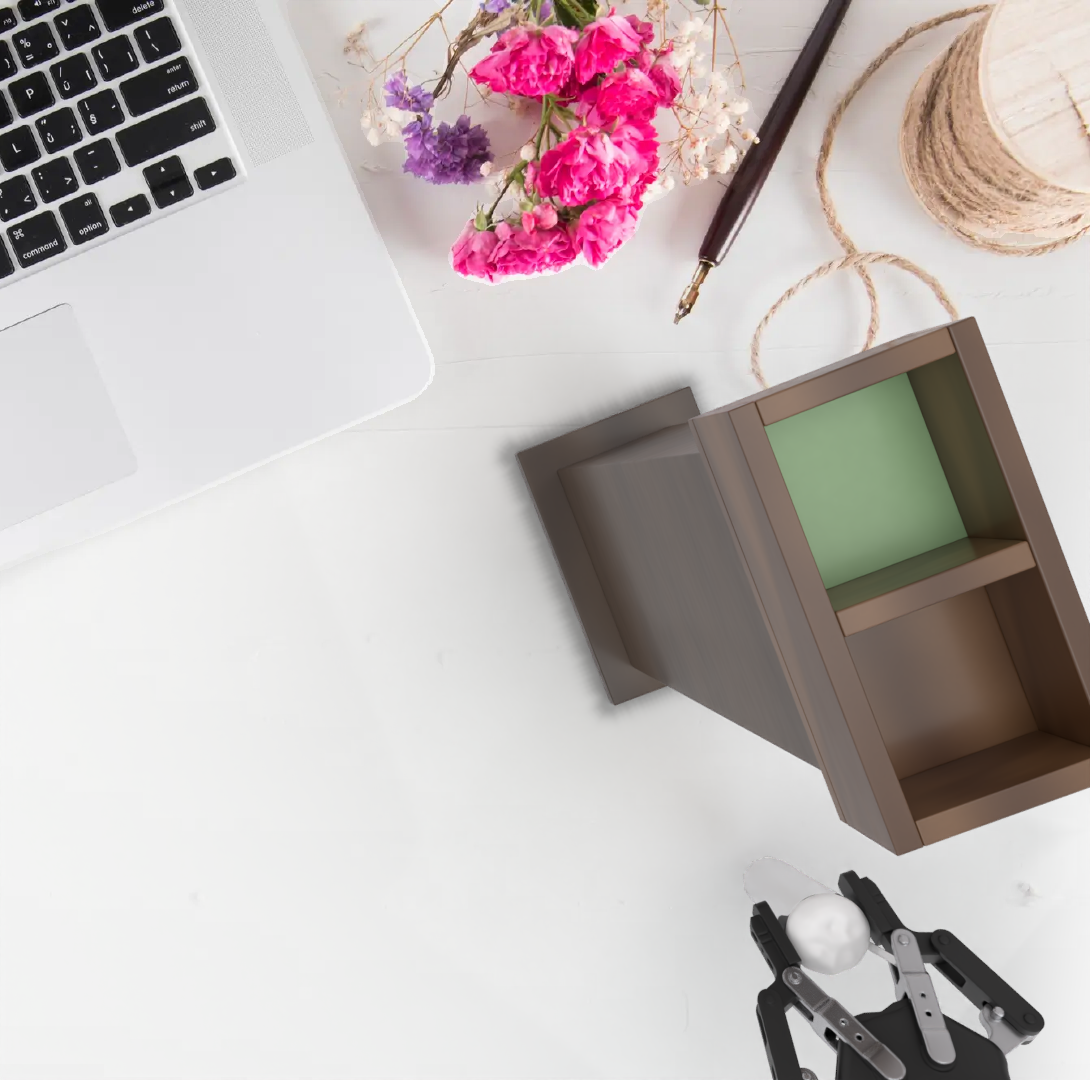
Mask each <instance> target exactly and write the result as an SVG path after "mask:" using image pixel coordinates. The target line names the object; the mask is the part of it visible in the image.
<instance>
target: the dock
mask: <svg viewBox="0 0 1090 1080" xmlns="http://www.w3.org/2000/svg"><path fill="white" fill-rule="evenodd" d="M700 414H701V415H699V416H696V417H694V418H691V419H689V420H688V424H689V427H690V429H691V432H692V434H693V437H694V440H695V442H696V445H697V447H698V450H699V453H700V455H701V458H702V461H703V463H704V466H705V468H706V471H707V474H708V476H709V479H710V481H711V484H712V487H713V489H714V492H715V495H716V497H717V500H718V502H719V505H720V508H721V510H722V513H723V515H724V518H725V521H726V523H727V526H728V528H729V531H730V534H731V536H732V539H733V542H734V544H735V547H736V549H737V552H738V555H739V557H740V560H741V562H742V565H743V568H744V570H745V573H746V576H747V578H748V581H749V583H750V586H751V589H752V591H753V594H754V596H755V599H756V602H757V604H758V607H759V609H760V612H761V615H762V617H763V620H764V623H765V625H766V628H767V630H768V633H769V636H770V638H771V641H772V643H773V646H774V649H775V651H776V654H777V657H778V659H779V662H780V664H781V667H782V670H783V672H784V675H785V677H786V680H787V683H788V685H789V688H790V690H791V693H792V696H793V698H794V701H795V704H796V706H797V709H798V711H799V714H800V717H801V719H802V722H803V724H804V727H805V730H806V732H807V735H808V738H809V740H810V743H811V745H812V748H813V751H814V753H815V756H816V758H817V761H818V764H819V766H820V769H821V770H820V771H821V774H822V776H823V779H824V782H825V785H826V787H827V790H828V793H829V795H830V798H831V800H832V803H833V805H834V808H835V810H836V813H837V815H838V818H839V820H840V821H841V822H843V823H844V824H846V825H847V826H848V827H850V828H852V829H853V830H855V831H857V832H858V833H860V834H861V835H863V836H864V837H866V838H868V839H869V840H871V841H873V842H874V843H875V844H877V845H879V846H881V847H882V848H884V849H885V850H887V851H888V852H890V853H892V854H894V855H895V856H896V857H900V856H902V855H903V856H904V855H905V854H908V853H912V852H915V851H917V850H920V849H922V848H924V847H928V846H930V845H933V844H936V843H939V842H942V841H944V840H948V839H950V838H953V837H956V836H959V835H961V834H964V833H967V832H971V831H972V830H975V829H978V828H981V827H983V826H986V825H989V824H993V823H995V822H998V821H1001V820H1003V819H1007V818H1009V817H1011V816H1014V815H1018V814H1020V813H1023V812H1027V811H1028V810H1031V809H1034V808H1036V807H1037V808H1038V807H1040V806H1043V805H1045V804H1048V803H1051V802H1055V801H1057V800H1059V799H1062V798H1065V797H1067V796H1070V795H1073V794H1076V793H1079V792H1082V791H1084V790H1087V789H1090V620H1089V617H1088V615H1087V612H1086V610H1085V607H1084V604H1083V602H1082V601H1083V600H1082V598H1081V596H1080V593H1079V591H1078V588H1077V586H1076V583H1075V580H1074V578H1073V575H1072V572H1071V569H1070V567H1069V564H1068V562H1067V559H1066V555H1065V553H1064V551H1063V548H1062V546H1061V543H1060V540H1059V538H1058V534H1057V533H1056V530H1055V527H1054V523H1053V522H1052V519H1051V516H1050V513H1049V511H1048V508H1047V506H1046V503H1045V500H1044V498H1043V495H1042V491H1041V489H1040V486H1039V484H1038V482H1037V479H1036V476H1035V474H1034V473H1035V472H1034V470H1033V468H1032V465H1031V463H1030V460H1029V458H1028V455H1027V452H1026V449H1025V446H1024V444H1023V442H1022V438H1021V436H1020V434H1019V431H1018V428H1017V425H1016V422H1015V420H1014V417H1013V415H1012V412H1011V409H1010V406H1009V403H1008V402H1007V399H1006V396H1005V393H1004V391H1003V388H1002V386H1001V382H1000V380H999V377H998V375H997V372H996V370H995V367H994V364H993V361H992V359H991V356H990V353H989V351H988V348H987V346H986V343H985V339H984V338H983V335H982V332H981V330H980V328H979V324H978V322H977V319H976V317H975V316H972V315H971V316H967V317H965V318H961V319H957V320H953V321H949V322H947V323H946V322H945V323H942V324H939V325H936V326H932V327H928V328H924V329H921V330H918V331H915V332H911V333H908V334H905V335H902V336H899V337H897V338H894V339H891V340H889V341H886V342H884V343H881V344H879V345H876V346H874V347H871V348H868V349H866V350H864V351H860V352H858V353H855V354H852V355H851V356H848V357H845V358H843V359H840V360H838V361H835V362H832V363H830V364H827V365H825V366H821V367H819V368H817V369H815V370H812V371H809V372H807V373H803V374H802V375H799V376H796V377H794V378H791V379H789V380H786V381H784V382H781V383H779V384H776V385H773V386H771V387H769V388H766V389H763V390H761V391H758V392H755V393H753V394H750V395H748V396H745V397H742V398H740V399H738V400H737V399H736V400H735V401H732V402H729V403H727V404H724V405H721V406H720V407H717V408H714V409H711V410H709V411H705V412H704V413H700Z"/></svg>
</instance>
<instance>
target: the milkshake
mask: <svg viewBox="0 0 1090 1080" xmlns="http://www.w3.org/2000/svg"><path fill="white" fill-rule="evenodd" d="M742 876H743V890H744V892H745V893H746V895H747V896H748V898H750V900H751V901H752V902H753V903H754V904H756V903H759V902H762V901H766V902H767V903H768V904H769V906H770V908H771V909H772V911H773V913H774V914H775V916H776V918H777V919H778V921H779V923H780V924H781V926H782V928H783V930H784V931H785V933H786V935H787V936H788V938H789V940H790V941H791V943H792V945H793V946H794V948H795V950H796V951H797V953H798V955H799V957H800V958H801V960H802V962H801V966H802V967H804V968H805V969H807V970H809V971H812V972H814V973H817V974H820V975H824V976H835V975H839V974H842V973H844V972H847V971H850V970H853V969H854V968H856V967H857V966H858V965H860V963H861V962H862V961H863V959H864V958H865V955H866V954H867V952H868V951H869V952H871V953H873V954H875V955H876V956H878V957H879V958H881V959H882V960H885V961H887V963H888V962H890V963H891V964H893V965H895V966H897V964H896V961H895V957H894V955H892V954H891V953H889V952H887V951H885V949H884V948H883V947H880V946H877V945H875V944H874V942H873V941H872V942H871V937H870V926H869V923H868V920H867V918H866V916H865V915H864V913H863V912H862V910H861V909H860V908H859V907H858V906H857V905H856V904H855V903H854V902H852V901H851V900H849V899H847V898H845V897H844V896H843V894H840V893H838V892H836V891H835V890H834V889H831V888H830V887H828V886H826V885H824V884H822V883H821V882H819V881H818V880H816V879H814V878H813V877H812V876H809V875H808V874H807V873H805V872H803V871H802V870H800V869H799V868H797V867H796V866H794V865H792V864H790V863H789V862H787V861H786V860H784V859H780V858H776V857H773V856H772V857H771V856H768V855H767V856H763V857H761V858H758V859H754V860H753V861H751V862H750V864H749V865H748V867H747V868H746V869H745V871H744V873H743V875H742Z"/></svg>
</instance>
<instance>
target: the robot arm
mask: <svg viewBox="0 0 1090 1080" xmlns="http://www.w3.org/2000/svg"><path fill="white" fill-rule="evenodd" d="M837 880H838V881H837V886H838V889H839V892H840V893H841V895H842V896H844V897H845V898H847V899H849V900H851V901H852V902H854V903H855V904H856V905H857V906H858V907H859V908H860V909H861V910H862V912H863V913H864V915H865V916H866V918H867V920H868V923H869V926H870V940H871V941H872V943H873V944H875V945H877V946H879V947H880V946H882V949H884V950H885V951H887V952H889V953H891V954H892V955H894V957H895V961H896V964H897V966H895V965H893V964H891V963H890V962H888V961H887V964H888V965H887V966H888V967H889V972H890V975H891V978H892V981H893V985H894V995H895V999H896V1001H894V1002H892V1003H890V1004H889V1005H888V1006H886V1007H885V1008H884V1009H882V1010H880V1011H871V1012H870V1011H869V1012H868V1011H867V1012H862V1013H859V1014H856V1015H853V1014H852V1013H851V1012H850V1011H848V1009H846V1008H845V1006H844V1005H842V1004H841V1003H840V1001H838V1000H837V999H836V998H834V997H832V996H830V995H828V994H827V992H825V991H824V990H823V989H822V988H821V987H820V986H819V985H818V984H817V983H816V982H815V981H814V980H813V979H812V978H811V977H810V976H809V975H808V974H807V973H806V972H805V971H803V969H802V967H801V966H802V965H801V962H802V960H801V958H800V957H799V955H798V953H797V951H796V950H795V948H794V946H793V945H792V943H791V941H790V940H789V938H788V936H787V935H786V933H785V931H784V930H783V928H782V926H781V924H780V923H779V921H778V919H777V918H776V916H775V914H774V913H773V911H772V909H771V908H770V906H769V904H768V903H767V902H766V901H762V902H759V903H756V904H755V903H754V904H752V911H751V914H752V916H750V917H749V931H750V936H751V938H752V940H753V941H754V943H755V945H756V947H757V948H758V951H760V954H761V955H762V957H763V959H764V961H765V963H766V964H767V966H768V968H769V970H770V971H771V973H772V975H773V977H774V981H773V982H772V983H771V984H770V985H769V986H768V987H766V988H763V989H761V990H760V991H759V992H758V994H757V998H756V1006H755V1015H756V1019H757V1022H758V1023H757V1024H758V1027H759V1031H760V1034H761V1038H762V1042H763V1043H762V1044H763V1046H764V1051H765V1054H766V1059H767V1062H768V1066H769V1070H770V1075H771V1077H772V1080H819V1078H818V1076H817V1074H816V1073H815V1072H814V1071H813V1070H812V1069H809V1068H807V1067H800V1066H801V1065H800V1062H799V1059H798V1055H797V1051H796V1046H795V1043H794V1041H793V1036H792V1032H791V1029H790V1026H789V1025H790V1024H789V1022H788V1018H787V1012H788V1011H789V1010H791V1009H792V1008H793V1009H794V1010H795V1011H796V1012H797V1013H798V1014H799V1015H800V1016H801V1017H802V1018H803V1019H804V1020H805V1021H806V1022H807V1023H808V1025H809V1026H810V1028H811V1029H812V1030H813V1032H814V1033H815V1034H816V1036H817V1037H819V1038H820V1039H821V1040H822V1041H823V1042H824V1043H825V1045H826V1046H828V1047H829V1049H831V1050H832V1051H833V1053H835V1054H836V1061H835V1072H834V1073H835V1075H834V1076H835V1077H834V1080H1012V1079H1011V1076H1010V1071H1009V1064H1008V1059H1007V1056H1008V1055H1009V1054H1011V1053H1012V1052H1013V1051H1015V1050H1016V1049H1017V1048H1018V1047H1019V1046H1027V1045H1030V1044H1031V1043H1032V1042H1033V1041H1034V1040H1035V1038H1036V1037H1037V1036H1038V1035H1039V1034H1040V1033H1041V1032H1042V1030H1043V1029H1044V1028H1045V1025H1046V1021H1045V1019H1044V1016H1043V1015H1042V1014H1041V1013H1040V1012H1039V1011H1038V1010H1037V1009H1036V1008H1035V1007H1034V1006H1033V1005H1032V1004H1031V1003H1030V1002H1028V1001H1027V999H1025V998H1024V997H1023V996H1022V995H1021V994H1019V992H1018V991H1016V990H1015V989H1014V988H1013V987H1012V986H1011V985H1010V984H1009V983H1007V982H1006V980H1004V979H1003V978H1002V976H1000V975H999V974H998V973H996V972H995V970H993V969H992V968H991V967H990V966H989V965H988V964H986V962H984V961H983V960H982V959H981V958H980V957H979V956H977V954H976V953H974V952H973V951H972V950H971V949H970V948H969V947H968V946H967V945H966V944H964V942H962V940H960V939H959V938H958V937H957V936H956V935H954V933H953V932H951V931H949V930H947V929H944V928H937V929H934V930H933V931H915V930H912V929H910V928H909V927H907V926H906V925H905V924H904V923H903V922H902V921H901V919H900V918H899V916H898V914H897V913H896V912H895V910H894V909H893V907H892V906H891V904H890V903H889V902H888V900H887V899H886V897H885V896H884V894H883V893H882V890H881V889H880V888H879V886H878V885H877V884H876V882H874V881H873V880H872V879H870V878H869V877H868V876H863V877H861V878H860V877H859V875H858V873H857V872H856V871H855V870H854V869H851V870H847V871H845V872H842V873H840V874H839V876H838V879H837ZM925 964H930V965H931V966H932V967H934V968H935V970H936V971H938V972H939V973H940V974H941V975H942V976H943V977H944V978H945V979H946V980H947V981H948V982H949V983H950V984H951V985H953V986H954V988H956V990H957V991H959V992H960V993H961V994H962V996H964V997H965V998H966V999H967V1000H969V1002H970V1003H972V1005H974V1006H975V1008H977V1009H978V1010H979V1011H980V1012H979V1013H978V1021H979V1023H980V1025H981V1026H982V1027H983V1028H984V1029H985V1032H986V1034H987V1037H986V1036H984V1035H982V1034H981V1033H978V1032H977V1031H975V1030H973V1029H971V1028H970V1027H968V1026H966V1025H964V1024H963V1023H961V1022H959V1021H957V1020H955V1019H954V1018H952V1017H950V1016H948V1015H946V1014H944V1013H943V1012H942V1009H941V1006H940V1003H939V999H938V996H937V994H936V990H935V988H934V987H935V986H934V984H933V980H932V977H931V975H930V973H929V972H928V971H927V970H926V966H925Z"/></svg>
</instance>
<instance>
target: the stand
mask: <svg viewBox="0 0 1090 1080" xmlns="http://www.w3.org/2000/svg"><path fill="white" fill-rule="evenodd" d="M694 395H695V394H694V393H693V389H692V387H691V386H689V385H687V386H684V387H682V388H679V389H676V390H673V391H672V392H669V393H666V394H664V395H661V396H659V397H656V398H654V399H651V400H648V401H645V402H643V403H641V404H638V405H636V406H633V407H630V408H628V409H625V410H623V411H621V412H618V413H615V414H613V415H610V416H607V417H604V418H602V419H599V420H597V421H595V422H592V423H589V424H587V425H585V426H582V427H579V428H576V429H574V430H571V431H569V432H566V433H564V434H561V435H559V436H556V437H553V438H551V439H549V440H546V441H544V442H540V443H538V444H535V445H533V446H530V447H528V448H526V449H523V450H521V451H518V452H515V453H514V457H515V460H516V463H517V465H518V467H519V470H520V473H521V475H522V477H523V481H524V483H525V485H526V488H527V490H528V493H529V496H530V499H531V501H532V503H533V506H534V509H535V512H536V514H537V517H538V518H539V522H540V524H541V526H542V529H543V533H544V535H545V537H546V540H547V542H548V544H549V548H550V550H551V553H552V555H553V558H554V561H555V563H556V565H557V569H558V571H559V573H560V576H561V579H562V581H563V584H564V586H565V589H566V591H567V594H568V596H569V599H570V601H571V604H572V607H573V609H574V612H575V614H576V617H577V619H578V620H577V621H578V622H579V625H580V628H581V630H582V632H583V633H582V634H583V636H584V638H585V641H586V643H587V645H588V648H589V651H590V653H591V656H592V659H593V661H594V663H595V667H596V670H597V672H598V673H599V676H600V679H601V682H602V685H603V687H604V689H605V692H606V695H607V698H608V700H609V702H610V704H611V705H613V706H618V705H621V704H624V703H626V702H628V701H631V700H634V699H636V698H639V697H643V696H645V695H648V694H650V693H653V692H655V691H658V690H661V689H663V688H667V687H668V688H670V689H672V690H674V691H675V692H677V693H680V694H681V695H683V696H684V697H686V698H689V699H690V700H692V701H694V702H696V703H697V704H699V705H700V706H702V707H704V708H706V709H708V710H710V711H712V712H714V713H716V714H717V715H719V716H721V717H723V718H725V719H727V720H728V721H730V722H732V723H734V724H736V725H737V726H740V727H741V728H743V729H745V730H747V731H748V732H750V733H752V734H754V735H756V736H758V737H759V738H760V739H763V740H764V741H767V742H768V743H770V744H772V745H773V746H776V748H777V747H778V748H779V749H781V750H783V751H785V752H786V753H789V754H790V755H792V756H794V757H796V758H797V759H800V760H801V761H803V762H805V763H807V764H808V765H810V766H812V767H814V768H815V769H818V770H819V771H821V769H820V766H819V764H818V761H817V758H816V756H815V753H814V751H813V748H812V745H811V743H810V740H809V738H808V735H807V732H806V730H805V727H804V724H803V722H802V719H801V717H800V714H799V711H798V709H797V706H796V704H795V701H794V698H793V696H792V693H791V690H790V688H789V685H788V683H787V680H786V677H785V675H784V672H783V670H782V667H781V664H780V662H779V659H778V657H777V654H776V651H775V649H774V646H773V643H772V641H771V638H770V636H769V633H768V630H767V628H766V625H765V623H764V620H763V617H762V615H761V612H760V609H759V607H758V604H757V602H756V599H755V596H754V594H753V591H752V589H751V586H750V583H749V581H748V578H747V576H746V573H745V570H744V568H743V565H742V562H741V560H740V557H739V555H738V552H737V549H736V547H735V544H734V542H733V539H732V536H731V534H730V531H729V528H728V526H727V523H726V521H725V518H724V515H723V513H722V510H721V508H720V505H719V502H718V500H717V497H716V495H715V492H714V489H713V487H712V484H711V481H710V479H709V476H708V474H707V471H706V468H705V466H704V463H703V461H702V458H701V455H700V453H699V450H698V447H697V445H696V442H695V440H694V437H693V434H692V432H691V429H690V427H689V424H688V420H689V419H691V418H694V417H696V416H699V415H701V414H702V413H701V410H700V409H699V405H698V402H697V400H696V398H695V396H694Z"/></svg>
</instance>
